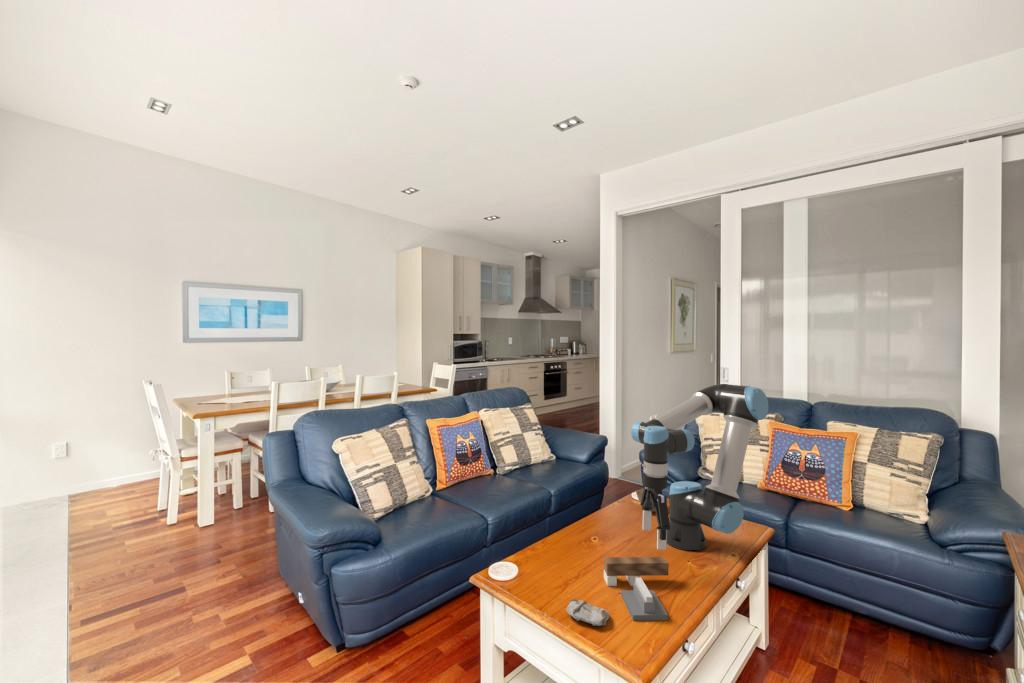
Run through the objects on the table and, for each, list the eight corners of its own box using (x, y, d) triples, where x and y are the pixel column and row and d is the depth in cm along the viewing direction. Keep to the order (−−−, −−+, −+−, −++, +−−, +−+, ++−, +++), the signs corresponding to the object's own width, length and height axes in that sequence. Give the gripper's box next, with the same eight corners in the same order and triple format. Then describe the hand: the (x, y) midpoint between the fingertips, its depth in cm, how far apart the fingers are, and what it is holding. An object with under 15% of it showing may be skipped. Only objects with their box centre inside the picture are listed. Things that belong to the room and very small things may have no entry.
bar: (663, 568, 145) (663, 556, 145) (668, 575, 141) (668, 563, 141) (604, 569, 145) (604, 557, 145) (607, 575, 141) (607, 563, 141)
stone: (561, 620, 124) (561, 608, 124) (573, 602, 132) (573, 591, 132) (602, 634, 118) (602, 622, 118) (612, 615, 126) (612, 604, 126)
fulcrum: (652, 594, 136) (653, 575, 136) (667, 620, 124) (668, 599, 124) (621, 595, 135) (621, 576, 135) (633, 620, 123) (633, 599, 123)
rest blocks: (634, 577, 146) (635, 568, 146) (639, 585, 141) (639, 576, 141) (603, 577, 145) (603, 568, 145) (607, 586, 140) (607, 576, 140)
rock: (662, 506, 207) (662, 485, 206) (665, 517, 194) (665, 495, 194) (635, 504, 209) (635, 483, 209) (636, 514, 197) (636, 492, 197)
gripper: (632, 463, 155) (630, 522, 155) (657, 487, 130) (656, 558, 130) (653, 463, 155) (651, 522, 156) (682, 487, 131) (681, 558, 131)
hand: (653, 539), depth 143 cm, fingers open, 13 cm apart
